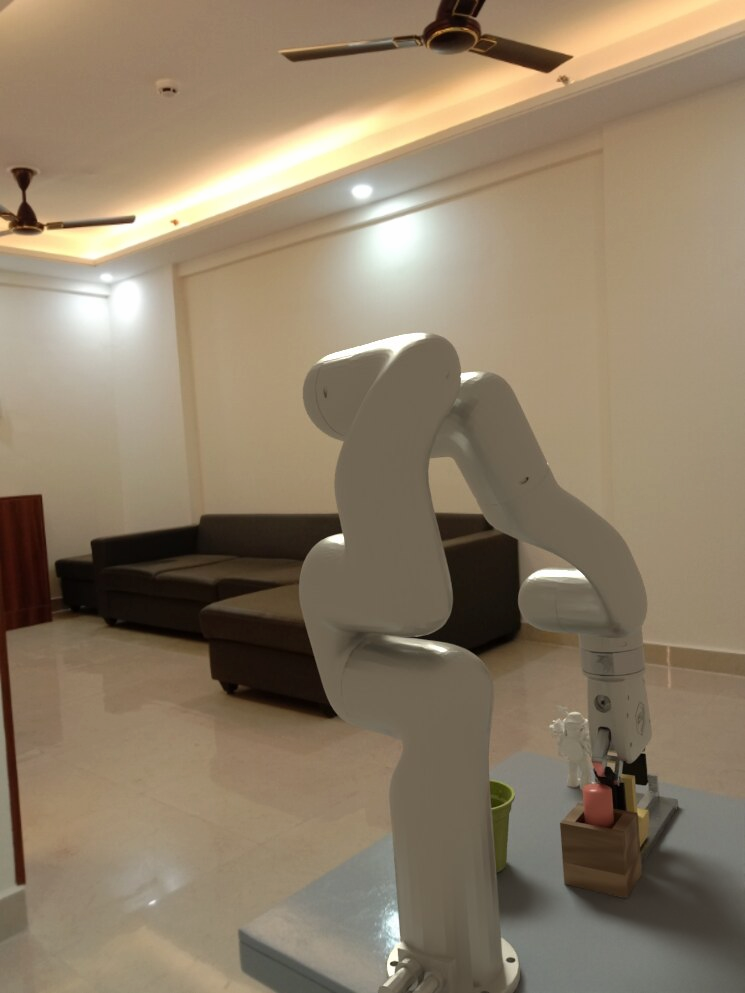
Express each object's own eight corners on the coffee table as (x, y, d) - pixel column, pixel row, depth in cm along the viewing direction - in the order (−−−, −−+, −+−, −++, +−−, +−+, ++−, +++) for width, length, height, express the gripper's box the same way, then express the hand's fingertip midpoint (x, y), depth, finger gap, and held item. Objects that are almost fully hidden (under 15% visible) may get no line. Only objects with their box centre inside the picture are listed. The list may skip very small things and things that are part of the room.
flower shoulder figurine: (548, 782, 118) (542, 703, 118) (564, 774, 121) (559, 697, 120) (599, 798, 111) (593, 714, 111) (615, 790, 114) (609, 707, 113)
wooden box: (626, 898, 86) (622, 834, 85) (564, 883, 89) (559, 822, 89) (641, 873, 90) (637, 812, 90) (582, 860, 94) (578, 802, 94)
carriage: (638, 851, 93) (634, 786, 93) (595, 843, 96) (590, 779, 96) (650, 834, 97) (645, 771, 97) (608, 826, 100) (603, 765, 100)
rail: (638, 870, 91) (636, 836, 91) (587, 859, 95) (585, 826, 94) (678, 806, 107) (676, 777, 107) (633, 799, 110) (631, 770, 110)
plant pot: (496, 892, 89) (491, 816, 89) (426, 872, 95) (421, 800, 94) (533, 857, 96) (528, 786, 96) (466, 840, 102) (461, 773, 102)
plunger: (609, 841, 88) (606, 796, 88) (581, 835, 89) (578, 792, 89) (618, 829, 90) (615, 786, 90) (590, 824, 92) (588, 781, 92)
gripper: (622, 682, 87) (635, 836, 88) (661, 643, 101) (673, 775, 102) (556, 678, 91) (570, 824, 92) (603, 640, 105) (615, 767, 106)
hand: (624, 798), depth 97 cm, fingers open, 8 cm apart
